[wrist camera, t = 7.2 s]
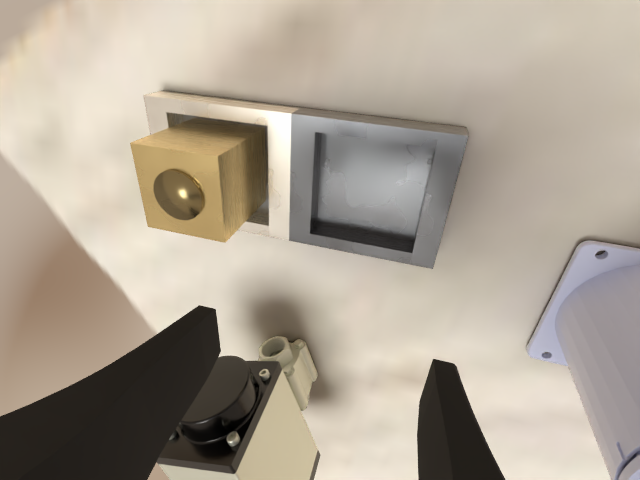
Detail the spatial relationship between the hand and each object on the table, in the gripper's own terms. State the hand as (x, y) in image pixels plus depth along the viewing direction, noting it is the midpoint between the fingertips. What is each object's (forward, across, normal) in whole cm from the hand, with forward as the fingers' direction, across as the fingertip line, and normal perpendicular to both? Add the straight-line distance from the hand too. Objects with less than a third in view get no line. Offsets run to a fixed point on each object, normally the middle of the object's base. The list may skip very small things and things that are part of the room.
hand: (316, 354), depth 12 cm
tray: (+10, +4, -2) cm, 11 cm away
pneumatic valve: (+11, +4, +13) cm, 17 cm away
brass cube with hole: (+10, +8, -2) cm, 13 cm away
